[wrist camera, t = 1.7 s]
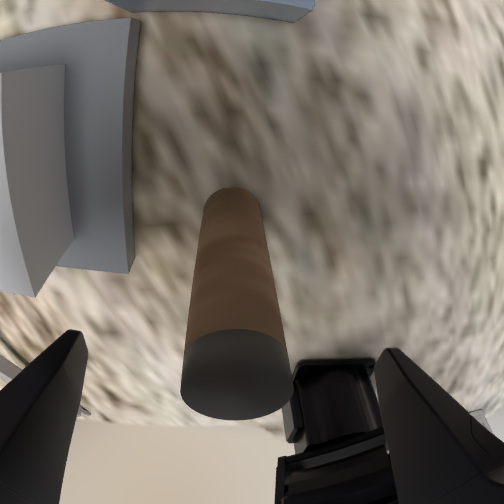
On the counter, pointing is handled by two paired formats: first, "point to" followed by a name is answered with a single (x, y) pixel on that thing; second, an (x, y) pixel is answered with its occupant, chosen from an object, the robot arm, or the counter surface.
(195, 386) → the brown wooden cylinder
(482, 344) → the counter surface
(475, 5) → the counter surface
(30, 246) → the grey square holder
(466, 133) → the counter surface
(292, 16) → the blue square tray
